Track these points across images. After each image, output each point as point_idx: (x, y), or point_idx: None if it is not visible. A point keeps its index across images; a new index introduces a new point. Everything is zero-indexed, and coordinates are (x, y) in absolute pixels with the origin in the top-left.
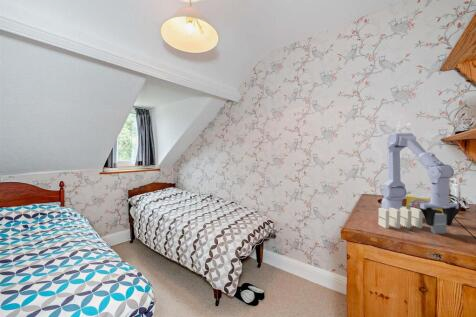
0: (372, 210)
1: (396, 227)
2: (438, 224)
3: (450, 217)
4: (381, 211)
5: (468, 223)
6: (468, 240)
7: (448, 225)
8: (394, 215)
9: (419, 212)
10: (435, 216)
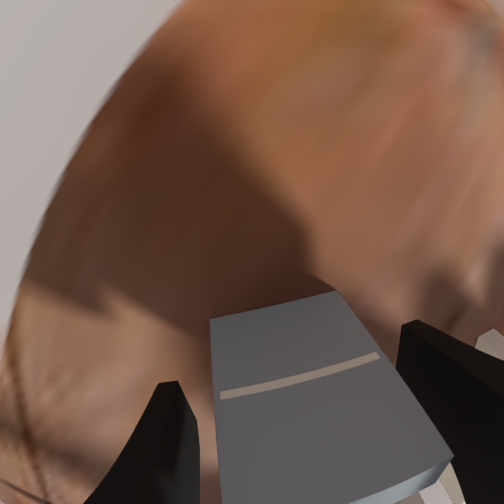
0: None
1: (496, 331)
2: (327, 367)
3: (161, 485)
4: None
5: (3, 459)
6: (103, 141)
7: (179, 388)
8: None
9: (418, 497)
10: (430, 440)
